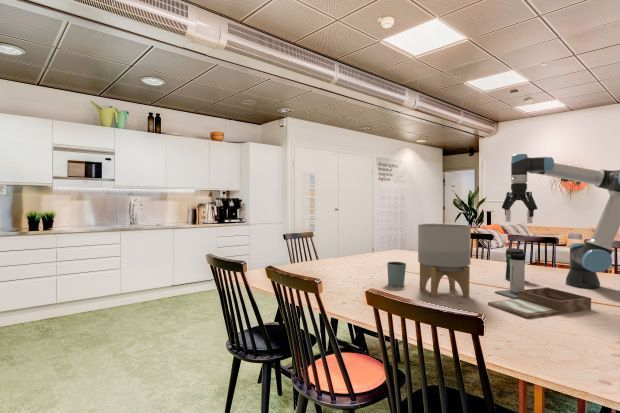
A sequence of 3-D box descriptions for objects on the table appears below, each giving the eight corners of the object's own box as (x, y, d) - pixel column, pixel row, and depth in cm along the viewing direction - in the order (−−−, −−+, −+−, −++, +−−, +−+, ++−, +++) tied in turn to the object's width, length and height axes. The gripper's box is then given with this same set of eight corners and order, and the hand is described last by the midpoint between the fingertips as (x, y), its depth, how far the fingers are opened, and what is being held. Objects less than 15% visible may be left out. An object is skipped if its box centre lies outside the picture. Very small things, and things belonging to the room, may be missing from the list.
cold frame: (547, 297, 176) (547, 287, 176) (591, 309, 157) (591, 298, 157) (487, 304, 165) (487, 293, 165) (527, 318, 146) (527, 306, 146)
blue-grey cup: (385, 282, 209) (385, 261, 209) (403, 282, 209) (403, 261, 208) (389, 286, 199) (389, 264, 198) (407, 286, 198) (407, 264, 198)
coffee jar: (525, 280, 214) (525, 248, 213) (522, 282, 208) (523, 249, 207) (507, 277, 220) (507, 246, 220) (503, 280, 214) (504, 248, 214)
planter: (409, 293, 185) (409, 225, 184) (430, 284, 204) (431, 222, 203) (458, 302, 168) (459, 228, 168) (477, 292, 187) (478, 225, 186)
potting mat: (519, 290, 190) (519, 288, 190) (540, 296, 179) (540, 294, 179) (494, 293, 185) (494, 291, 185) (515, 299, 174) (515, 297, 174)
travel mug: (522, 291, 184) (523, 252, 184) (525, 295, 178) (526, 253, 178) (508, 290, 186) (509, 251, 186) (511, 293, 180) (511, 253, 180)
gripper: (495, 183, 208) (494, 221, 209) (534, 181, 185) (534, 224, 185) (505, 183, 211) (504, 220, 211) (545, 182, 187) (545, 223, 188)
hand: (518, 222), depth 198 cm, fingers open, 13 cm apart
